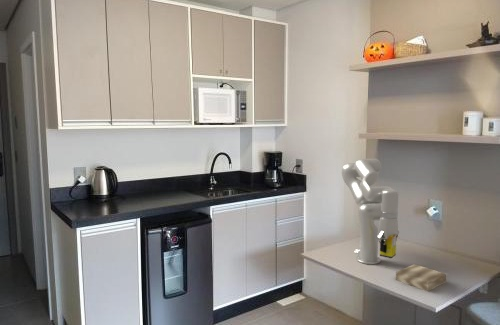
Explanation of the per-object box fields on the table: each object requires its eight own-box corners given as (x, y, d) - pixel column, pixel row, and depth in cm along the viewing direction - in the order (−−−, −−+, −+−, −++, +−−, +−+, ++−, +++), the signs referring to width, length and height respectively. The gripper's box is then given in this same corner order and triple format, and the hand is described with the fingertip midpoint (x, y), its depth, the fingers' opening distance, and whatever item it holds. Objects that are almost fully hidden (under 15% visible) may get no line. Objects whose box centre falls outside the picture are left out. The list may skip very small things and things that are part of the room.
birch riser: (395, 279, 183) (396, 271, 182) (414, 271, 192) (414, 264, 192) (427, 291, 170) (428, 282, 169) (446, 282, 179) (446, 274, 179)
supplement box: (383, 252, 191) (384, 231, 190) (395, 255, 187) (396, 233, 186) (379, 255, 187) (380, 234, 185) (391, 258, 183) (392, 236, 181)
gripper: (392, 210, 192) (391, 244, 195) (371, 216, 182) (370, 251, 185) (406, 213, 186) (405, 248, 189) (385, 219, 176) (383, 256, 179)
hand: (387, 249), depth 187 cm, fingers closed on supplement box, 6 cm apart
